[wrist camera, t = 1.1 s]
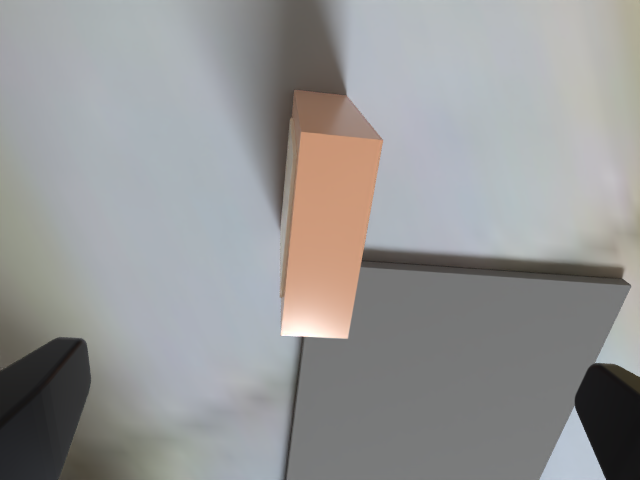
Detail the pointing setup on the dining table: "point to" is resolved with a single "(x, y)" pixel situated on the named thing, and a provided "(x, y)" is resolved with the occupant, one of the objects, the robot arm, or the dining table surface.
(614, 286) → the mat
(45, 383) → the robot arm
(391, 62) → the dining table surface
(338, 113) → the tile
